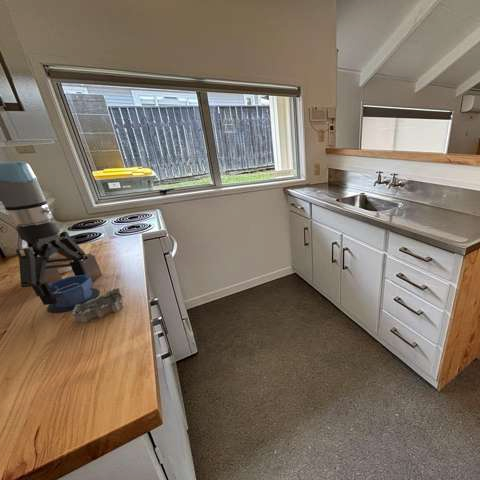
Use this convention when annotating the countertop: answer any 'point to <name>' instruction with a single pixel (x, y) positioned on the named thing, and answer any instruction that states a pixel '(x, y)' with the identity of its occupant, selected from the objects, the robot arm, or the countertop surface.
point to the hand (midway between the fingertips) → (68, 290)
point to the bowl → (71, 290)
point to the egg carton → (99, 306)
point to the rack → (54, 275)
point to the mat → (54, 309)
